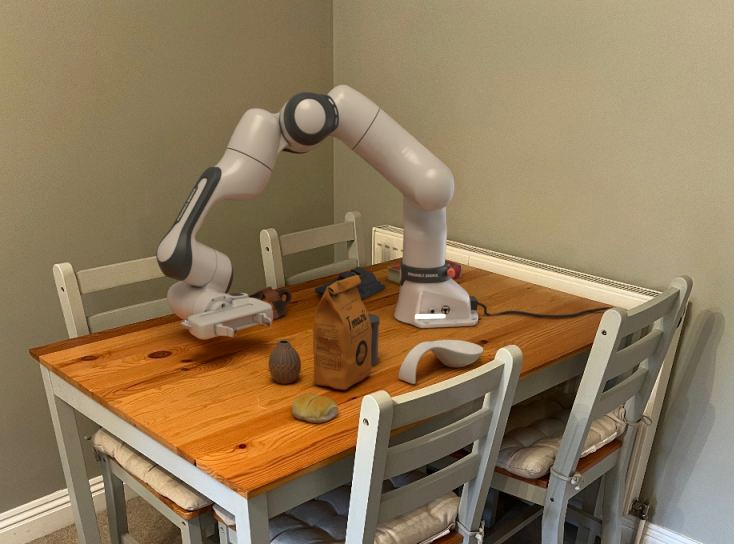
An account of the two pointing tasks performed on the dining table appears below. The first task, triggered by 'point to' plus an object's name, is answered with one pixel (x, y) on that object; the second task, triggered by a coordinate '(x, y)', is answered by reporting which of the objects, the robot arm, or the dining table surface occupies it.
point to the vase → (284, 363)
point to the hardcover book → (395, 271)
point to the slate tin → (374, 337)
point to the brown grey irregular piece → (274, 299)
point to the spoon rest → (440, 356)
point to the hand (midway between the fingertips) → (252, 328)
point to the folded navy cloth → (365, 288)
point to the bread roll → (314, 408)
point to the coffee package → (341, 336)
